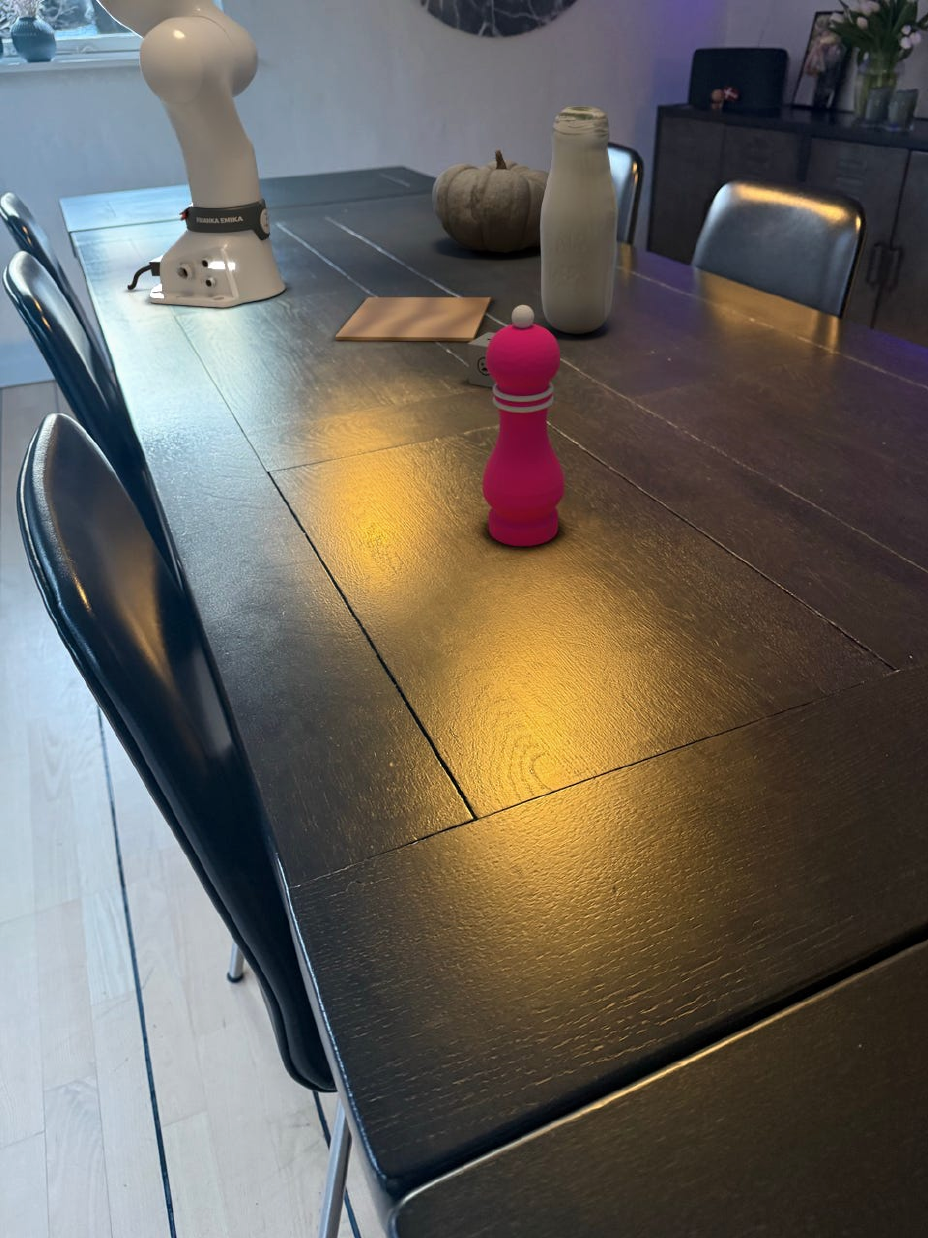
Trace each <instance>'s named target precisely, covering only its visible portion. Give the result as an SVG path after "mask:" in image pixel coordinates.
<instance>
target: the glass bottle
mask: <svg viewBox="0 0 928 1238" xmlns="http://www.w3.org/2000/svg"><path fill="white" fill-rule="evenodd" d="M609 125H610V123H609V117H608V115H607V114H606V112H604V111H603V110H602V109H599V108H596V107H594V106H589V105H583V106H582V105H581V106H580V105H579V106H567V107H565V108H564V109H563V110H561V111H560V112H559V113H557V115H556V117H555V119H554V121H553V124H552V128H551V136H550V142H551V162H550V169H549V177H548V180H547V185H546V190H545V194H544V199H543V203H542V209H541V222H540V232H541V245H540V256H541V259H540V262H541V263H540V265H541V268H540V269H541V270H540V273H541V275H540V277H541V278H540V293H541V306H542V310H543V314H544V317H545V319H546V321H547V323H548V324H549V325H550V326H551V327H553V328H554V329H556V330H557V331H560V332H563V333H567V334H573V335H583V334H587V333H592V332H593V331H595V330H597V329H598V328H599V329H600V327H601V326H602V325H603V324H604V322H605V321H607V319H608V317H609V315H610V313H611V309H612V304H613V295H614V280H615V265H616V250H617V237H618V236H617V233H618V216H619V215H618V214H619V212H618V211H619V209H618V207H619V206H618V200H617V199H618V198H617V195H616V194H617V193H616V187H615V184H614V179H613V176H612V170H611V161H610V156H609V148H608V144H609V141H610V126H609Z"/></svg>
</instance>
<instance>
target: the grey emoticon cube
mask: <svg viewBox="0 0 928 1238" xmlns="http://www.w3.org/2000/svg"><path fill="white" fill-rule="evenodd" d="M496 333H497V332H490V331H487V332H486V333H484V334H483V335H482V334H481V335H479V336H478V337H477V338H475V339H474V340H473V341H469V342H467V367H468V368H467V369H468V370H467V371H468V384H470V385H476V386H482V387H487V388H492V389H493V386H494V385H495V384H496V381H495V380H494V379H493V378H492V377H491V375H490V374H489V372H488V370H487V366H486V352H487V348H488V345H489V342H490V340H491V339H492V337H493V336H494V335H495V334H496Z"/></svg>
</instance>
